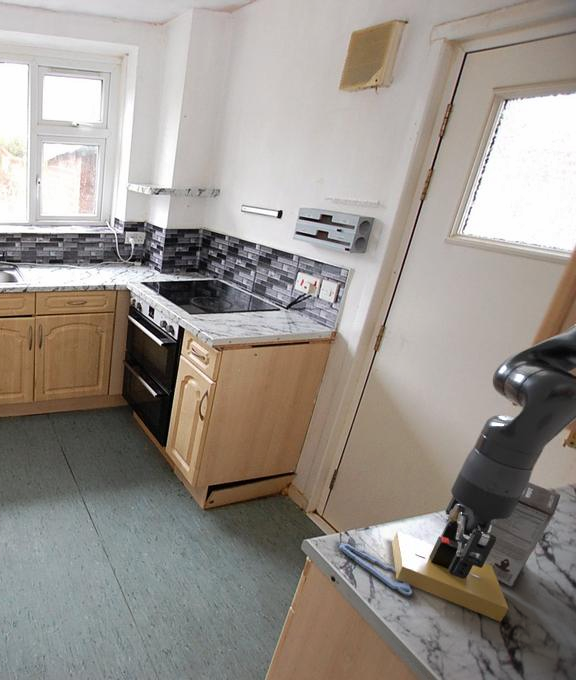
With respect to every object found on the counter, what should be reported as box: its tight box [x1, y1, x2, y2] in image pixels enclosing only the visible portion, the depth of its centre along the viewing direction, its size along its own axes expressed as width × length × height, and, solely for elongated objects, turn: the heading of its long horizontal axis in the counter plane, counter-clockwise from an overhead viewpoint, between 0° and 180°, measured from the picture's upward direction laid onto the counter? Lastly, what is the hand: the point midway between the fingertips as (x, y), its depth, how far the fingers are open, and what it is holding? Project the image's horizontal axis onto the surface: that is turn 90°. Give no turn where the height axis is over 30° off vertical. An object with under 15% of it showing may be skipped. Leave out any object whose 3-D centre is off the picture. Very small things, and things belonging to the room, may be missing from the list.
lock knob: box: [430, 535, 473, 576], centre depth 78 cm, size 5×2×5 cm, turn 59°
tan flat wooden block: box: [391, 530, 509, 623], centre depth 79 cm, size 14×10×3 cm
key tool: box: [339, 542, 413, 596], centre depth 81 cm, size 12×1×5 cm
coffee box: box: [485, 482, 561, 587], centre depth 81 cm, size 9×6×16 cm
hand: (451, 558), depth 78 cm, fingers open, 7 cm apart
